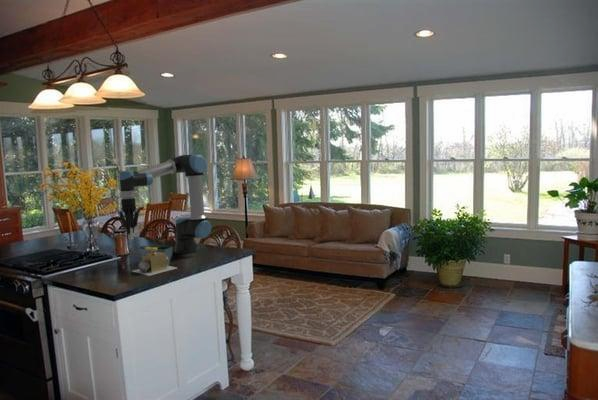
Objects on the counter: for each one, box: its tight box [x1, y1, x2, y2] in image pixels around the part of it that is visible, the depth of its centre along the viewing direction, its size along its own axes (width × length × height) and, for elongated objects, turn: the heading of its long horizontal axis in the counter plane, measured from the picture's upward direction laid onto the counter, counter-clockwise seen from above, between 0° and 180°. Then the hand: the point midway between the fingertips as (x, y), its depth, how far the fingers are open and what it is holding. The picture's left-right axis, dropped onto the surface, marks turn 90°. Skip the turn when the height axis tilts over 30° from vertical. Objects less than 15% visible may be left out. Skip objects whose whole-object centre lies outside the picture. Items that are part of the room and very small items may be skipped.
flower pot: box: [156, 245, 174, 260], centre depth 292 cm, size 9×9×9 cm
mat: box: [131, 265, 178, 277], centre depth 273 cm, size 18×19×1 cm
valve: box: [137, 251, 171, 273], centre depth 272 cm, size 9×18×11 cm, turn 140°
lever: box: [139, 245, 158, 253], centre depth 275 cm, size 14×4×1 cm, turn 50°
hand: (131, 239), depth 271 cm, fingers closed
